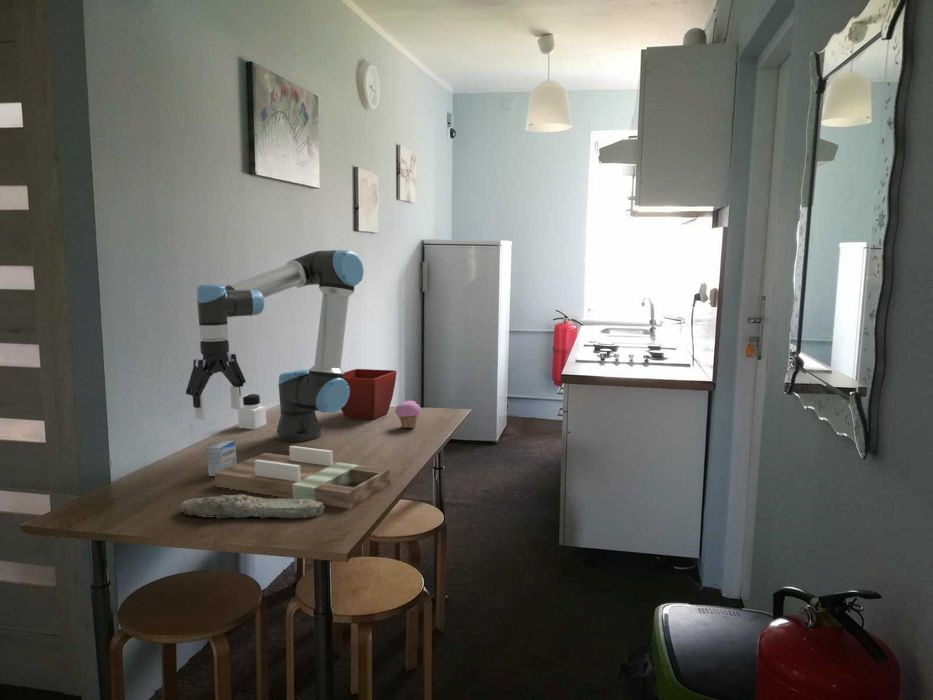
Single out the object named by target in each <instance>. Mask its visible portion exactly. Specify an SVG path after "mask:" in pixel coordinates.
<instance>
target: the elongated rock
mask: <svg viewBox="0 0 933 700" xmlns="http://www.w3.org/2000/svg"><path fill="white" fill-rule="evenodd" d="M325 507H326V505H323V503H321V502H317V501H313V500H311V499H286V498H280V497H276V498H275V497H274V498H263V497H261V496H260V497H259V496H252V495H247V494H243V493H239V494H233V495H232V494H229V495H227V494H226V495H225V494H222V495H219V496H209V497H208V496H207V497H199V498H195V497H194V498H189V499H187V500H184V501H183V502H181V504H180V506H179V508H180V511H181V512H183V513H184V514H185V513H188V514H189V515H188V516H193V515H200V516H201V515H205V516H214V517H235V518H234V519H239V518H241V519H245V518H249V517H255V518H258V517H259V518H260V519H267V518H279V519H292V518H296V519H301V518H304V519H306V518H315V517H314V516H316V517H318V516H321V515H322V514H324V512H325Z"/></svg>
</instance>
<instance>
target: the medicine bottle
mask: <svg viewBox="0 0 933 700" xmlns="http://www.w3.org/2000/svg"><path fill="white" fill-rule="evenodd" d="M241 398H242V407H240V409H237V417H238V418H237V419H238V428H239V429H243V428H245V429H246V430H257V429H259V428H262V427H265V426H267V411H266V406H263V405H261V397H260V394H256V393H250V394H249V393H248V394H245V395H243V396H242V397H241Z"/></svg>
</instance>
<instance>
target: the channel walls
mask: <svg viewBox="0 0 933 700" xmlns="http://www.w3.org/2000/svg"><path fill="white" fill-rule="evenodd" d="M288 448H289V449H288V450H289V456H290V460H291V461H298V462H305V463H313V464H320V465H328V466H332V465H333V462H334V454H333V450H331V449H330V450H329V449H321V448H320V449H319V448H313V447H304V446H298V445H297V446H296V445H289V446H288ZM255 475H257V476H263V477H270V478H277V479H283V480H290V481H296V482H299V481H301V470H300V465H294V464H287V463H279V462H272V461H265V460H255Z"/></svg>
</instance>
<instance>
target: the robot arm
mask: <svg viewBox="0 0 933 700" xmlns="http://www.w3.org/2000/svg"><path fill="white" fill-rule="evenodd" d="M363 277H364V265H363V262H362V260H361V259H360V257H359V255H357V253H355V252H354V251H352V250H349V249H348V250H346V249H345V250H344V249H335V250H333V249H332V250H317V251H313V252H309V253H307V254H304V255H302V256H299V257H296V258H293V259H290V260H288V261H287V263H286V265H282V266H280V267H277V268H274V269H273V268H272V269H271V270H267V271H264V272H262V273H259V274H256V275H253V276H250V277H247V278H245V279H242V280H239V281H236V282H233V283H230V284H227V285H225V284H219V283H218V284H200V285H199V286H198V287H197V290H196V291H197V292H196V303H197V315H198V328H199V339H200V342H199V347H200V348H199V349H200V354H201V355H202V359H193V365H192V366H193V368H192V370H191V374H190V378H189V381H188V384H187V386H186V391H185V395H187V396H192V404H193V405H192V406H193V408H194V412H195V413H194V414H195V419H197V420H205V419H206V413H205V397H204V396H205V395H202V394H203V391H204V389H205V388H206V386H207V384H208V383H209V380H210V378H211V377H212V376H213V375H214V374H216V373H222V374H223V376H224V377H225V378H226V379H227V380H228V382H229V383H230V384H231V385H232V386H230V387H229V389H230V391H229V392H230V404H231V405H230V409H232V410H233V409H234V410H238V409H241V395H242V392H241V387H243V386H244V384H245V383H246V382H247V381H246V379H245V376H244V374H243V372H242V370H241V367H240V365H239V363H238V360H237V354H236V353H229V352H230V345H229V344H230V343H229V342H230V341H229V340H228V338H229V325H228V318H235V317H249V316H250V317H252V316H258V315H260V314H261V313H262V312H263V311H264V310H265V309H264V308H265V299H266V298H268V297H270V296H273V295H275V294H278V293H281V292H283V291H286V290H288V289H292V288H297V289H299V288H303V287H305V286H306V287H307V286H314V285H315V286H316V285H318V289H319V290H320V291H321V294H322V298H321V307H320V314H319V323H318V331H317V342H316V348H315V357H314V364H313V366H311V367H310V368H308V369H298V370H291V371H285V372H282V373H280V374H279V376H278V384H277V385H278V392H279V393H278V394H279V395H278V397H279V407H280V409H279V410H280V417H279V420H278V425H277V429H276V440H278V441H282V442H289V443H291V442H293V443H294V442H295V443H297V442H306V441H311V440H315V439H317V438H319V437H321V436H322V428H321V426H320V423H319V419H318V418H317V415H316V412H321V413H325V414H326V413H327V414H330V413H331V414H333V413H336V412H339V411H342V410H341V408H342V407H344V406H345V404H346V403H347V401H348V398H349V393H350V389H349V386H348V383H347V382H346V381H345V380H344V372H345V371H343V369H342V360H343V359H342V357H343V349H344V340H345V332H346V324H347V315H348V314H347V313H348V307H349V298H350V296H352V295H353V294H354V293H355V287H356V286H357V285H359V284H360V282H361V281H362V280H363Z"/></svg>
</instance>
